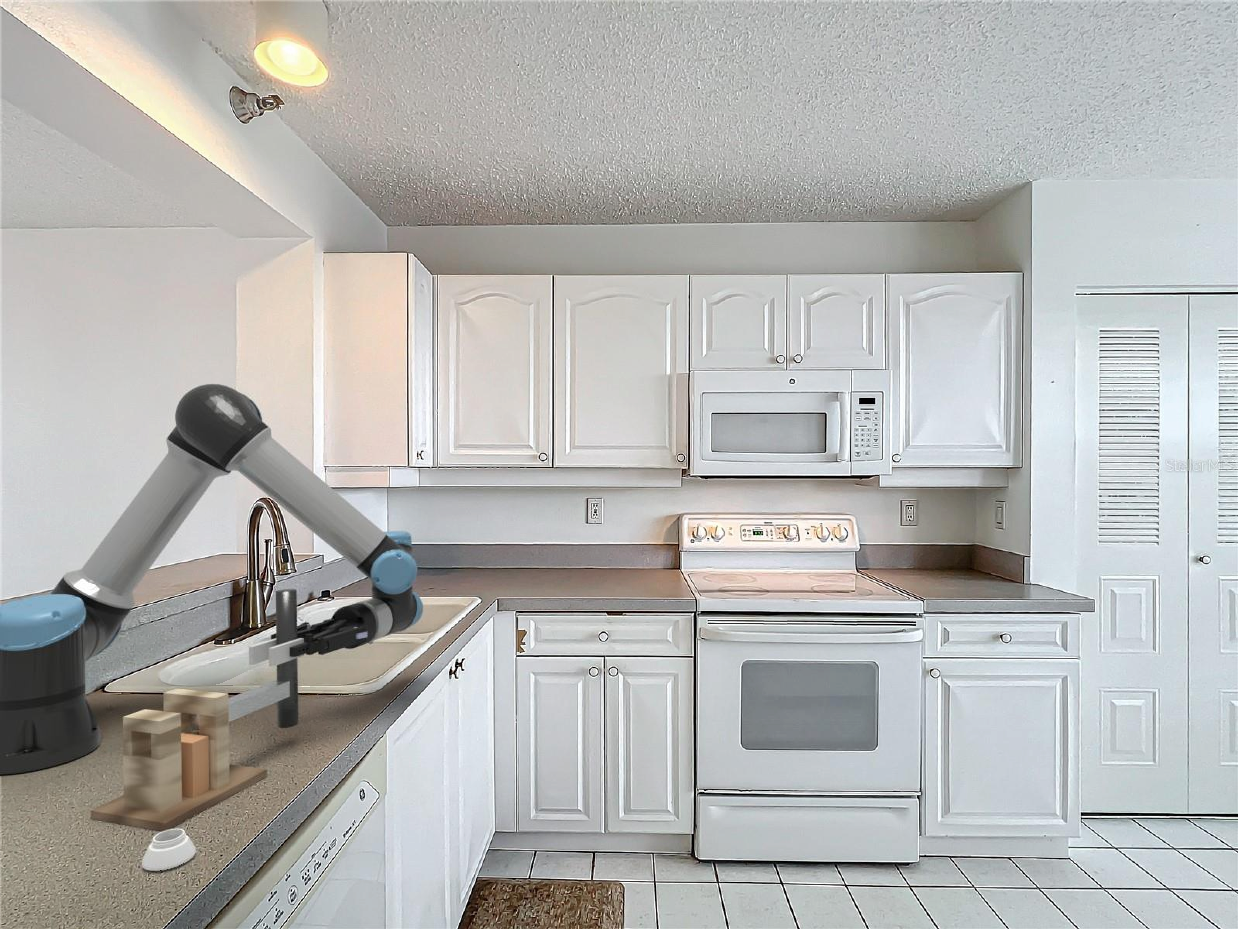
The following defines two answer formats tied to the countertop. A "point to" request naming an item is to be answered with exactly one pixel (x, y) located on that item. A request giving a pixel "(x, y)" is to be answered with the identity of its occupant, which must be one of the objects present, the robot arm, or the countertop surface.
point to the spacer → (194, 764)
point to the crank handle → (287, 673)
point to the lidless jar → (168, 850)
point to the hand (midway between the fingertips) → (261, 656)
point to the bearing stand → (174, 762)
